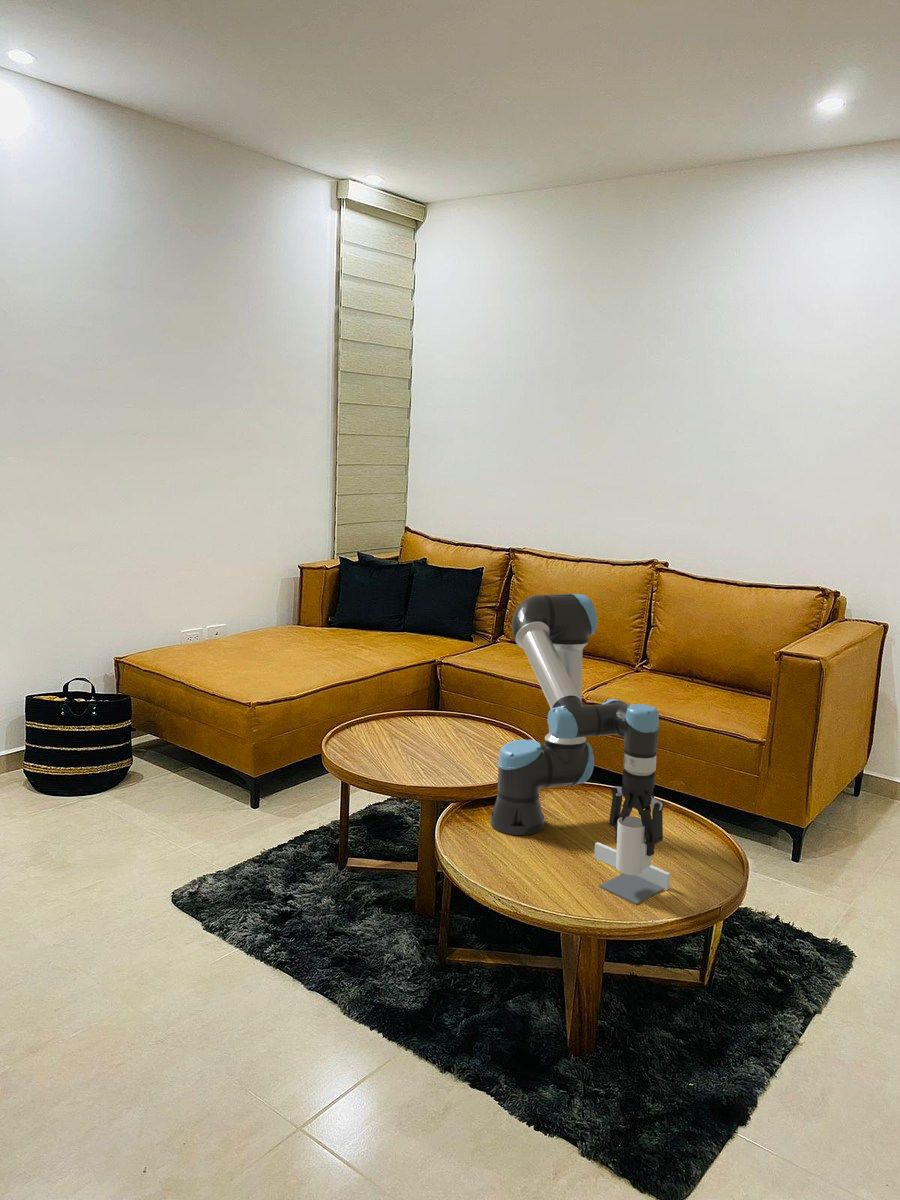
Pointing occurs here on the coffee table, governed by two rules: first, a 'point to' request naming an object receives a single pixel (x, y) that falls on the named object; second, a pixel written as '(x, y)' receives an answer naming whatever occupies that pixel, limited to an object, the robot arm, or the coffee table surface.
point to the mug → (630, 845)
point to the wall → (648, 874)
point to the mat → (631, 888)
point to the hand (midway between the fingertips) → (633, 861)
